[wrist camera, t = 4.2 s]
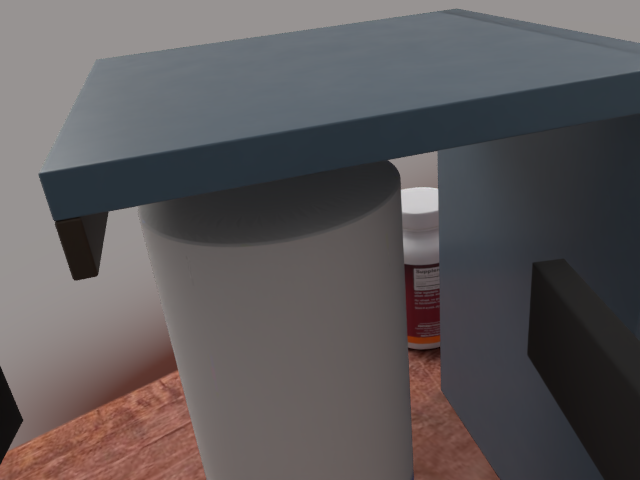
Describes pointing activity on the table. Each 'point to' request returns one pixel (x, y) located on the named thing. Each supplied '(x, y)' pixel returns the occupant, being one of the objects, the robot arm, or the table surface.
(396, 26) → the shelf rack
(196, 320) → the container
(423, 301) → the pill bottle
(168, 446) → the table surface
